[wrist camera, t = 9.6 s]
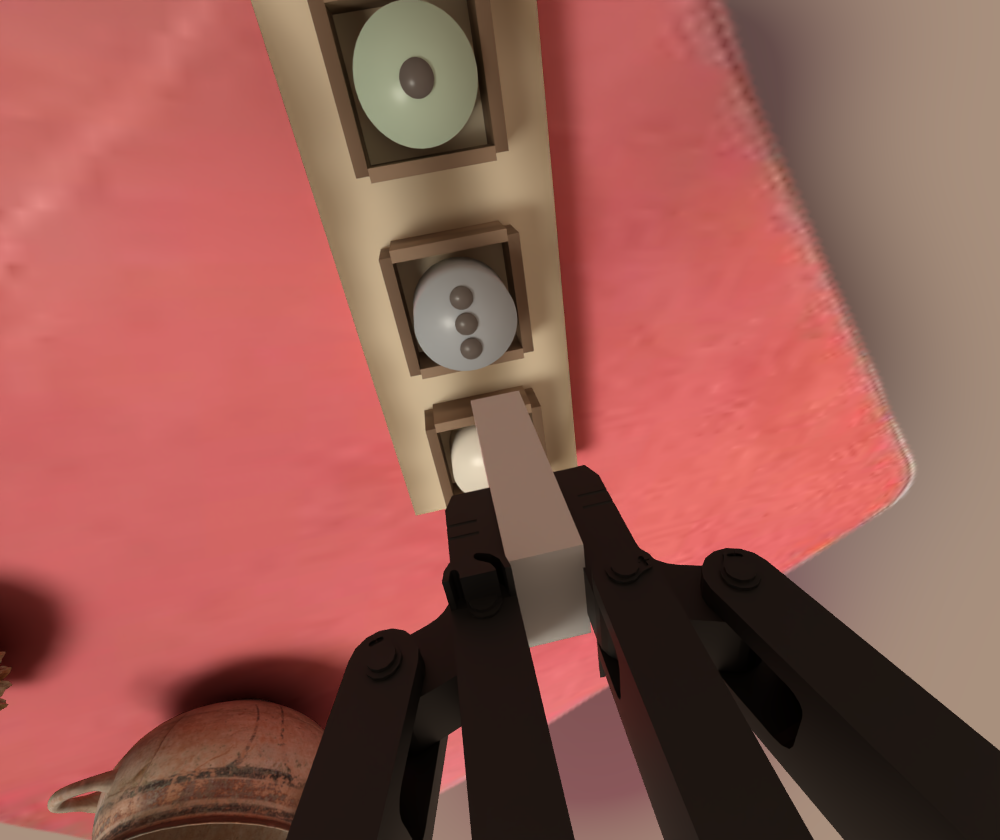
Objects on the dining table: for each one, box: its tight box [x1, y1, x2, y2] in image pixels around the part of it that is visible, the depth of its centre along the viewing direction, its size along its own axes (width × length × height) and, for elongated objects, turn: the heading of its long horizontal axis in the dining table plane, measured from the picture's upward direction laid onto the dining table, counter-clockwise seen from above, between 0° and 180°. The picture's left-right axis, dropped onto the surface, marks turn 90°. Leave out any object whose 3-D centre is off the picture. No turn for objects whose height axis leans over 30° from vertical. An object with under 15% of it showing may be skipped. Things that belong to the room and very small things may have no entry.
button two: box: [450, 425, 489, 493], centre depth 32 cm, size 5×5×3 cm
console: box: [251, 0, 577, 515], centre depth 28 cm, size 12×30×6 cm, turn 9°
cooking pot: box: [48, 698, 324, 840], centre depth 44 cm, size 25×19×12 cm
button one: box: [353, 0, 478, 149], centre depth 22 cm, size 5×5×3 cm
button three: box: [413, 257, 517, 371], centre depth 25 cm, size 5×5×3 cm
